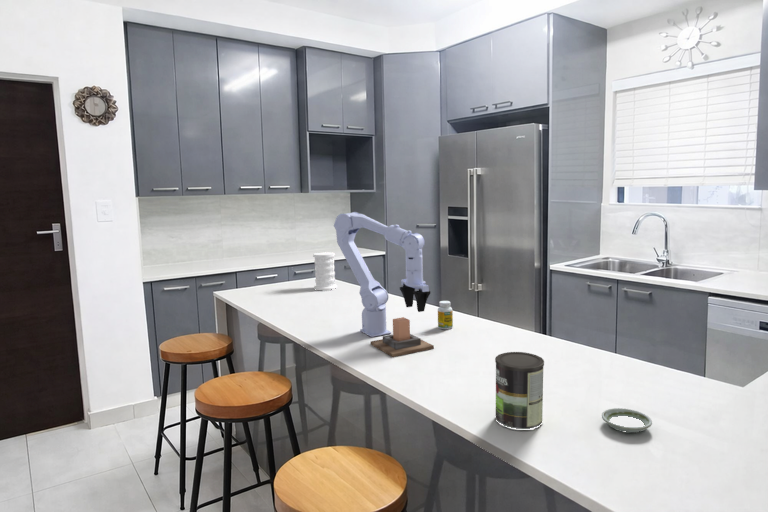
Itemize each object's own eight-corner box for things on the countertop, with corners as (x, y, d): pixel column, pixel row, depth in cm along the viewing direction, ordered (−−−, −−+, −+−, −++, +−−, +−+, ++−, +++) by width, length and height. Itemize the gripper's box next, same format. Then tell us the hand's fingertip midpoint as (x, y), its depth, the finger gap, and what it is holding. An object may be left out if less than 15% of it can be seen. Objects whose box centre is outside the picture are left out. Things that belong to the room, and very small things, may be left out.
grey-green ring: (636, 416, 115) (637, 406, 115) (661, 438, 105) (661, 427, 105) (593, 418, 115) (594, 408, 114) (614, 440, 105) (614, 429, 105)
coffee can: (503, 433, 109) (503, 369, 107) (489, 412, 119) (489, 352, 117) (551, 430, 110) (552, 366, 108) (533, 409, 120) (533, 350, 118)
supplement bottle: (446, 324, 192) (445, 299, 190) (455, 328, 187) (455, 302, 186) (434, 327, 189) (434, 301, 187) (444, 330, 184) (444, 304, 183)
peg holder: (370, 344, 171) (370, 335, 171) (409, 336, 178) (409, 328, 178) (392, 357, 158) (392, 347, 158) (433, 348, 165) (433, 339, 164)
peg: (393, 342, 169) (392, 319, 168) (404, 340, 171) (403, 317, 169) (399, 346, 165) (398, 321, 164) (410, 344, 167) (409, 319, 166)
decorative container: (311, 290, 259) (309, 255, 257) (318, 286, 270) (316, 252, 268) (333, 291, 257) (332, 255, 255) (339, 286, 269) (338, 251, 266)
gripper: (436, 271, 170) (436, 311, 171) (413, 265, 182) (414, 303, 184) (417, 273, 166) (418, 314, 168) (395, 267, 179) (396, 306, 181)
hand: (415, 309), depth 176 cm, fingers open, 7 cm apart
